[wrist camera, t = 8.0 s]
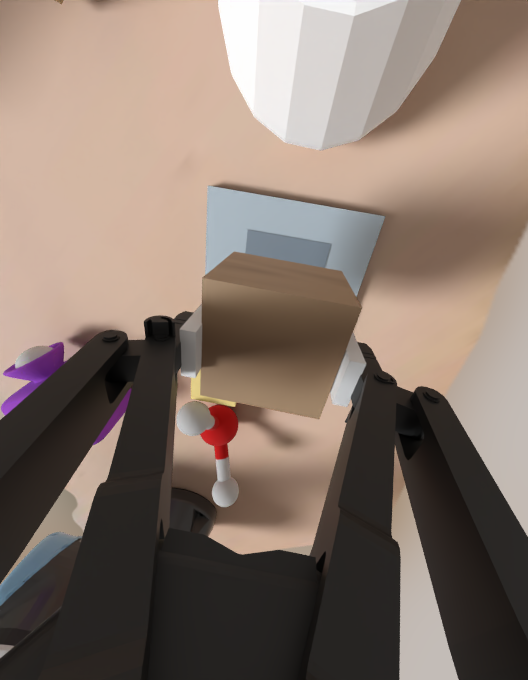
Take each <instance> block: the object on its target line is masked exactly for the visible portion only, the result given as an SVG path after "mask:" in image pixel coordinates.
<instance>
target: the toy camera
mask: <svg viewBox="0 0 528 680" xmlns="http://www.w3.org/2000/svg"><path fill="white" fill-rule="evenodd" d="M63 359H64V345H63V343H62V342H59V343H56V344H53V345H50V346H37V347H33V348H30V349H28V350H26V351H24V352H23V353H21V355H20V356H19V357H18V358H17V360H16V362H15V364H14V365H12V366H11V367H10V368H8V369H7V370H6V371H5V372H4V373H3V375H5V376H8V377H12V378H17V379H23V380H29V381H31V382H29V383H28V384H27V385H25V386H24V387H22V388H21V389H20V390H18V391H17V392H16V393H14V394H13V395H11V396H10V397H9V398H8V399H7V400H6V401H5V402H4V403H3V404H2V406H1V410H2V412H3V413H4V415H5V416H6V415H7V414H8V413H9V412H10V411H11V410H12V409H14V408H15V407H16V406H17V405H18V404H19V403H20V402H21V401H23V400H24V399H25V398H26V397H27V396H28V395H29V394H30V393H32V392H33V391H34V390H35V389H36V388H37V387H38V386H40V385H41V384H42V383H43V382H44V381H45V380H46V379H47V378H49V377H50V376H51V375H52V374H53V373H54V372H55V371H56V370H58V369H59V368H60V367H61V366H62V365H63V364H64V363H65V362H67V361H65V362H63ZM131 390H132V389H131V388H130V389H129V391H128V392H127V394H126V395H125V397H124V398H123V400H122V401H121V403H120V404H119V406H118V407H117V409H116V410H115V412H114V413H113V415H112V416H111V418H110V419H109V421H108V422H107V424H106V426H105V427H104V429H103V430H102V432H101V433H100V435H99V436H98V438H97V439H96V441H95V442H94V444H93V445H95V444H97V443H99V442H100V441H101V440H103V439H104V438H105V436H106V435H107V434H108V433H109V432H110V431H111V429H112V428H113V427H114V425H115V424H116V423H117V422H118V420H119V419H120V418H121V417H122V415H123V414H124V413H125V412H126V409H127V405H128V401H129V397H130V394H131Z"/></svg>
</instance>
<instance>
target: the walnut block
mask: <svg viewBox="0 0 528 680" xmlns="http://www.w3.org/2000/svg"><path fill="white" fill-rule="evenodd" d="M361 309H362V307H361V305H360V303H359V301H358V299H357V297H356V296H355V294H354V292H353V290H352V288H351V287H350V285H349V283H348V281H347V279H346V278H345V276H344V274H343V272H342V271H339V270H334V269H328V268H323V267H317V266H312V265H306V264H301V263H295V262H290V261H284V260H279V259H273V258H268V257H262V256H257V255H251V254H246V253H240V252H235V251H234V252H233V253H231V254H230V255H229V256H228V257H227V258H225V259H224V260H223V261H222V262H221V263H219V264H218V265H217V266H216V267H215V268H213V269H212V270H211V271H210V272H209V273H208V274H206V275H205V276H204V277H203V278H202V360H201V378H200V395H202V396H207V397H212V398H216V399H221V400H226V401H231V402H236V403H241V404H246V405H251V406H256V407H261V408H266V409H271V410H276V411H281V412H286V413H290V414H295V415H300V416H305V417H310V418H315V419H320V416H321V413H322V411H323V408H324V406H325V403H326V400H327V398H328V395H329V393H330V390H331V387H332V385H333V382H334V380H335V377H336V374H337V372H338V369H339V367H340V364H341V361H342V359H343V356H344V354H345V351H346V348H347V346H348V343H349V341H350V338H351V335H352V333H353V330H354V327H355V325H356V322H357V320H358V317H359V314H360V312H361Z"/></svg>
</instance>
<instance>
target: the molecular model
mask: <svg viewBox="0 0 528 680" xmlns="http://www.w3.org/2000/svg"><path fill="white" fill-rule="evenodd" d="M177 426H178V428H179V429H180V431H181V432H182V433H184V434H186V435H189V436H196V435H199V434H200V435H201V437H202V439H203V440H204V441H205V442H206V443H208V444H210V445H213V446H214V448H215V458H216V468H217V478H218V480H217V481H216V482H215V484H214V486H213V489H212V497H213V500H214V502H215V503H216V504H217V505H219V506H221V507H228V506H230V505H232V504H233V503H234V502H235V501H236V499H237V498H238V494H239V486H238V483H237V482H236V480H235V479H234V478H232V477H231V474H230V464H229V455H228V446H227V443H229V442H230V441H231V440H232V439H233V438H234V436H235V435H236V433H237V430H238V419H237V416H236V414H235V413H234V411H233V410H232V409H231V408H229V407H227V406H224V405H215V406H212V407H210V408H208V407H207V406H206V405H205V404H203V403H201V402H198V401H192V402H189V403H186V404H185V405H184V406H182V407H181V409H180V410H179V412H178V414H177Z"/></svg>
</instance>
